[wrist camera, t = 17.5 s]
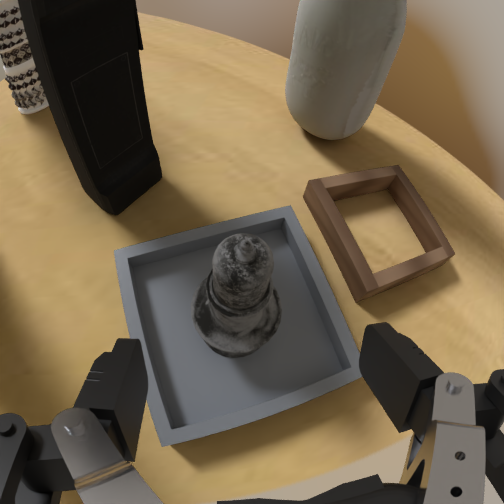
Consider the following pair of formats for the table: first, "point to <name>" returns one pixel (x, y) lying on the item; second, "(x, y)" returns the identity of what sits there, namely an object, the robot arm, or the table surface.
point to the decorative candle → (19, 60)
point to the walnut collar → (344, 245)
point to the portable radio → (96, 93)
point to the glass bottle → (341, 62)
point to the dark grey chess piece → (238, 298)
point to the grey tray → (226, 368)
